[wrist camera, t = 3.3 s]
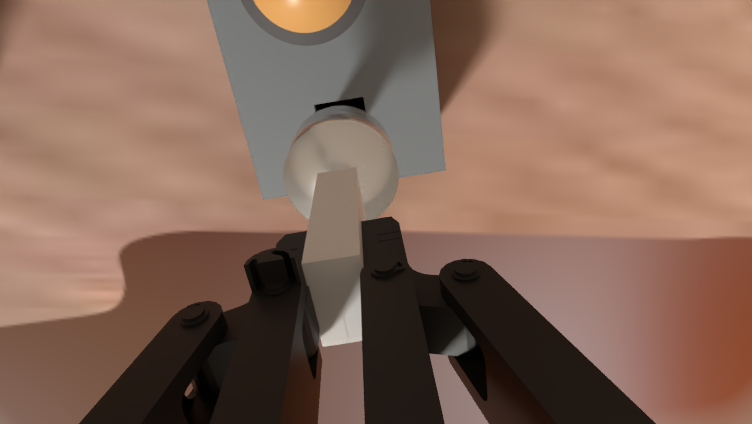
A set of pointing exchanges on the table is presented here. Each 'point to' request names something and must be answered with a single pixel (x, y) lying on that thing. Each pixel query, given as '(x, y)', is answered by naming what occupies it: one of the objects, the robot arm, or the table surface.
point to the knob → (342, 157)
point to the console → (335, 83)
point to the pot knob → (304, 18)
